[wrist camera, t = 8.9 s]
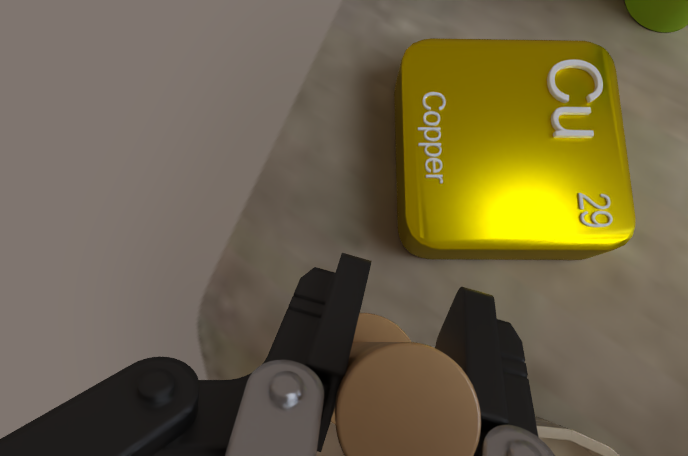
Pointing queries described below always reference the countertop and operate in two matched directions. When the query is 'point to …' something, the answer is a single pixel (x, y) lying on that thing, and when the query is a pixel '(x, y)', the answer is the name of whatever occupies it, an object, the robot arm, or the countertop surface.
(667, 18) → the soap dispenser
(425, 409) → the wooden pestle
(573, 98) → the element tile
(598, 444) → the bowl
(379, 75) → the countertop surface
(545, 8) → the countertop surface
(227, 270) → the countertop surface
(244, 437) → the robot arm
